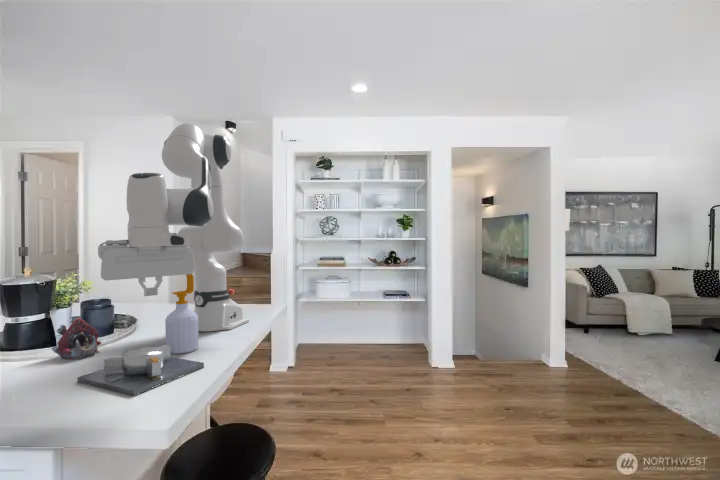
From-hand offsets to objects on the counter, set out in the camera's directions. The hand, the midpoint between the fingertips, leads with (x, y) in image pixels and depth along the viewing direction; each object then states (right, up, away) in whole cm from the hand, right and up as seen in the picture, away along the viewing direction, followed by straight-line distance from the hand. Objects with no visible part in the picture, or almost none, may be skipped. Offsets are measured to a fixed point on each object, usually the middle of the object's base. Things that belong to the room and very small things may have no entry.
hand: (151, 295), depth 96 cm
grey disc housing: (-2, -19, +2) cm, 19 cm away
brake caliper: (-32, -21, +19) cm, 42 cm away
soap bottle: (-3, -20, +24) cm, 31 cm away
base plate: (-4, -21, +3) cm, 21 cm away
